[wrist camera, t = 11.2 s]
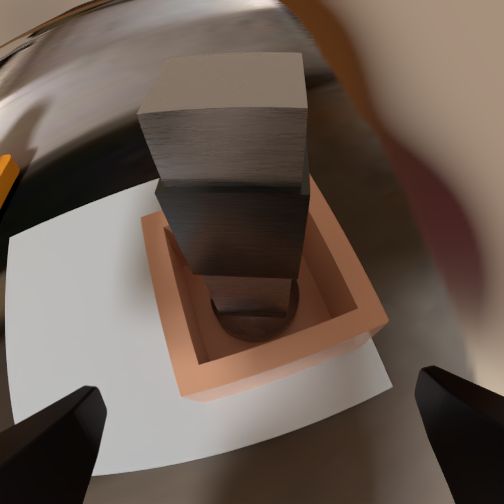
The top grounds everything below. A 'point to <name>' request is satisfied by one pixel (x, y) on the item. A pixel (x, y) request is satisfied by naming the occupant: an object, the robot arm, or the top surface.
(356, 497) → the top surface
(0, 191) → the bracket
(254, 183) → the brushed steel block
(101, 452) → the bench mat
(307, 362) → the holder
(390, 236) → the top surface
